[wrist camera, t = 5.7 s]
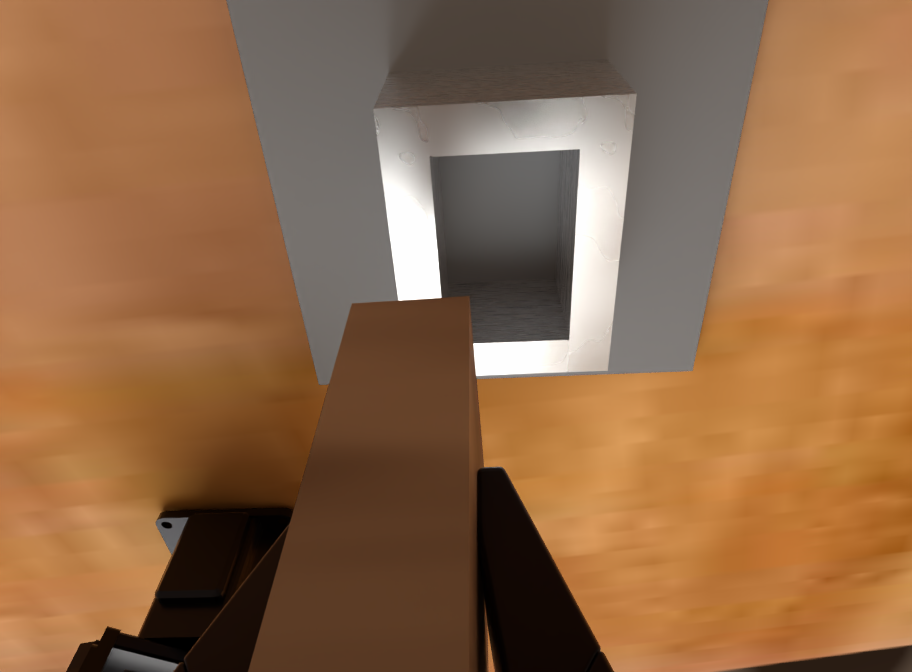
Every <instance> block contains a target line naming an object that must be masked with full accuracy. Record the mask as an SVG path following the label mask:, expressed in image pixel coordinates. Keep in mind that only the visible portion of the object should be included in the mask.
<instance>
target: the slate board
mask: <svg viewBox="0 0 912 672" xmlns="http://www.w3.org/2000/svg"><path fill="white" fill-rule="evenodd" d="M226 1H227V5H228V9H229V13H230V17H231V22H232V26H233V30H234V34H235V38H236V42H237V47H238V51H239V55H240V59H241V63H242V67H243V71H244V76H245V80H246V84H247V88H248V92H249V96H250V101H251V105H252V109H253V113H254V117H255V121H256V125H257V130H258V134H259V138H260V142H261V146H262V150H263V155H264V159H265V163H266V167H267V171H268V175H269V179H270V184H271V188H272V192H273V196H274V200H275V204H276V208H277V213H278V217H279V221H280V225H281V229H282V233H283V238H284V242H285V246H286V250H287V254H288V258H289V262H290V267H291V271H292V275H293V279H294V283H295V287H296V292H297V296H298V300H299V304H300V308H301V312H302V316H303V321H304V325H305V329H306V333H307V337H308V341H309V346H310V350H311V354H312V358H313V362H314V366H315V370H316V375H317V379H318V383H319V385H328V384H329V383H330V379H331V376H332V372H333V368H334V365H335V361H336V358H337V354H338V351H339V347H340V344H341V340H342V336H343V333H344V329H345V326H346V322H347V319H348V315H349V312H350V308H351V305H352V303H367V302H383V301H398V293H397V286H396V278H395V271H394V263H393V256H392V248H391V240H390V233H389V225H388V218H387V210H386V202H385V195H384V187H383V180H382V172H381V164H380V157H379V149H378V142H377V134H376V126H375V119H374V111H373V108H374V106H375V103H376V101H377V99H378V96H379V94H380V92H381V89H382V87H383V85H384V82H385V80H386V77H387V75H388V73H394V72H411V71H428V70H445V69H462V68H479V67H496V66H513V65H530V64H546V63H563V62H580V61H597V60H609V62H610V63H611V64H612V65H613V66H614V68H615V69H616V70H617V71H618V72H619V73H620V75H621V76H622V77H623V78H624V79H625V80H626V82H627V83H628V84H629V85H630V86H631V88H632V89H633V90H634V91H635V92H636V93H637V96H636V106H635V115H634V125H633V134H632V144H631V153H630V163H629V172H628V182H627V191H626V201H625V211H624V220H623V230H622V239H621V249H620V258H619V268H618V277H617V287H616V296H615V306H614V315H613V325H612V334H611V344H610V353H609V363H608V371H587V372H560V373H533V374H506V375H480V376H476V379H489V378H516V377H543V376H570V375H597V374H624V373H651V372H677V371H693V366H694V361H695V356H696V351H697V346H698V341H699V336H700V332H701V327H702V322H703V317H704V312H705V307H706V302H707V298H708V293H709V288H710V283H711V278H712V273H713V268H714V263H715V259H716V254H717V249H718V244H719V239H720V234H721V229H722V224H723V220H724V215H725V210H726V205H727V200H728V195H729V190H730V186H731V181H732V176H733V171H734V166H735V161H736V156H737V151H738V147H739V142H740V137H741V132H742V127H743V122H744V117H745V113H746V108H747V103H748V98H749V93H750V88H751V83H752V78H753V74H754V69H755V64H756V59H757V54H758V49H759V44H760V40H761V35H762V30H763V25H764V20H765V15H766V10H767V5H768V1H769V0H226ZM438 158H439V171H440V184H441V197H442V210H443V224H444V237H445V250H446V263H447V276H448V284H450V283H473V282H496V281H519V280H541V279H555V270H556V244H557V218H558V193H559V167H560V150H553V151H534V152H515V153H496V154H477V155H458V156H440V157H438Z"/></svg>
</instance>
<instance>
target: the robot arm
mask: <svg viewBox="0 0 912 672" xmlns="http://www.w3.org/2000/svg"><path fill="white" fill-rule="evenodd" d="M292 514H293V511H292V510H290V509H288V508H263V509H228V510H193V511H165V512H162V513H160V515H159V517H158V519H157V521H156V526H157V528H158V530H159V532H160V533H161V535H162V537H163V539H164V541H165V543H166V545H167V547H168V549H169V551H170V552H171V554H172V556H171V558H170V560H169V562H168V565H167V567H166V569H165V572H164V574H163V576H162V578H161V581H160V583H159V585H158V587H157V590H156V592H155V598H154V600H153V603H152V605H151V607H150V609H149V612H148V614H147V616H146V619H145V621H144V623H143V625H142V628H141V630H140V632H139V634H138V637H136V636H132V635H129V634H125V633H121V632H120V631H121V630H120V629H116V628H112V627H108V626H107V628H106V630H105V632H104V634H103V636H102V638H101V640H100V641H99V640H96V641H94V642H88V643H82V644H80V646H79V648H78V650H77V652H76V654H75V655H74V657H73V659H72V661H71V663H70V665H69V667H68V669H67V671H66V672H248V670H249V667H250V663H251V660H252V656H253V653H254V649H255V645H256V642H257V638H258V635H259V631H260V628H261V624H262V621H263V617H264V613H265V610H266V606H267V603H268V599H269V596H270V592H271V589H272V585H273V581H274V578H275V574H276V571H277V567H278V564H279V560H280V557H281V553H282V550H283V546H284V542H285V539H286V535H287V532H288V528H289V525H290V521H291V518H292ZM477 531H478V543H479V553H480V562H481V572H482V581H483V591H484V600H485V609H486V617H487V625H488V631H489V637H490V644H491V650H492V657H493V663H494V669H495V672H614V671H613V669H612V667H611V665H610V663H609V662H608V660H607V658H606V656H605V654H604V653H603V652H600V649H601V648H600V645H599V644H598V642H597V640H596V638H595V636H594V634H593V632H592V631H591V629H590V627H589V625H588V623H587V621H586V619H585V618H584V616H583V614H582V612H581V610H580V608H579V606H578V605H577V603H576V601H575V599H574V597H573V595H572V593H571V592H570V590H569V588H568V586H567V584H566V582H565V580H564V579H563V577H562V575H561V573H560V571H559V569H558V567H557V566H556V564H555V562H554V560H553V558H552V556H551V554H550V553H549V551H548V549H547V547H546V545H545V543H544V541H543V540H542V538H541V536H540V534H539V532H538V530H537V528H536V527H535V525H534V523H533V521H532V519H531V517H530V515H529V514H528V512H527V510H526V508H525V506H524V504H523V502H522V501H521V499H520V497H519V495H518V493H517V491H516V489H515V488H514V486H513V484H512V482H511V480H510V478H509V476H508V475H507V473H506V471H505V470H504V469H503V468H502V467H482V468H480V469H479V470H478V473H477Z"/></svg>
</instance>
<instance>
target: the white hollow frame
mask: <svg viewBox="0 0 912 672" xmlns="http://www.w3.org/2000/svg"><path fill="white" fill-rule="evenodd" d="M636 96H637V93H636V92H635V91H634V90H633V89H632V88H631V86H630V85H629V84H628V83H627V82H626V80H625V79H624V78H623V77H622V76H621V75H620V73H619V72H618V71H617V70H616V69H615V68H614V66H613V65H612V64H611V63H610V62H609V60H597V61H580V62H563V63H546V64H530V65H513V66H496V67H479V68H462V69H445V70H428V71H411V72H394V73H388V75H387V77H386V80H385V82H384V85H383V87H382V89H381V92H380V94H379V96H378V99H377V101H376V103H375V106H374V108H373V111H374V119H375V126H376V134H377V142H378V149H379V157H380V164H381V172H382V180H383V187H384V195H385V202H386V210H387V218H388V225H389V233H390V240H391V248H392V256H393V263H394V271H395V278H396V286H397V293H398V301H399V300H414V299H430V298H446V297H462V296H469V298H470V309H471V321H472V333H473V344H474V356H475V368H476V376H480V375H506V374H533V373H560V372H587V371H608V363H609V353H610V344H611V334H612V325H613V315H614V306H615V296H616V287H617V277H618V268H619V258H620V249H621V239H622V230H623V220H624V211H625V201H626V191H627V182H628V172H629V163H630V153H631V144H632V134H633V125H634V115H635V106H636ZM553 150H560V167H559V193H558V218H557V244H556V270H555V279H541V280H519V281H496V282H473V283H450V284H448V276H447V263H446V250H445V237H444V224H443V210H442V197H441V184H440V171H439V158H438V157H440V156H458V155H477V154H496V153H515V152H534V151H553Z"/></svg>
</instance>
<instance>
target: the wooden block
mask: <svg viewBox="0 0 912 672" xmlns="http://www.w3.org/2000/svg"><path fill="white" fill-rule="evenodd" d="M482 467H484V461H483V449H482V437H481V426H480V414H479V402H478V391H477V379H476V368H475V356H474V344H473V333H472V321H471V309H470V298H469V296H462V297H446V298H430V299H414V300H399V301H383V302H367V303H352V305H351V308H350V312H349V315H348V319H347V322H346V326H345V329H344V333H343V336H342V340H341V344H340V347H339V351H338V354H337V358H336V361H335V365H334V368H333V372H332V376H331V379H330V383H329V386H328V390H327V393H326V397H325V400H324V404H323V408H322V411H321V415H320V418H319V422H318V425H317V429H316V432H315V436H314V439H313V443H312V447H311V450H310V454H309V457H308V461H307V464H306V468H305V471H304V475H303V479H302V482H301V486H300V489H299V493H298V496H297V500H296V503H295V507H294V510H293V514H292V518H291V521H290V525H289V528H288V532H287V535H286V539H285V542H284V546H283V550H282V553H281V557H280V560H279V564H278V567H277V571H276V574H275V578H274V581H273V585H272V589H271V592H270V596H269V599H268V603H267V606H266V610H265V613H264V617H263V621H262V624H261V628H260V631H259V635H258V638H257V642H256V645H255V649H254V653H253V656H252V660H251V663H250V667H249V670H248V672H488V630H487V617H486V609H485V600H484V591H483V581H482V572H481V562H480V553H479V543H478V531H477V473H478V470H479V469H480V468H482Z"/></svg>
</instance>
